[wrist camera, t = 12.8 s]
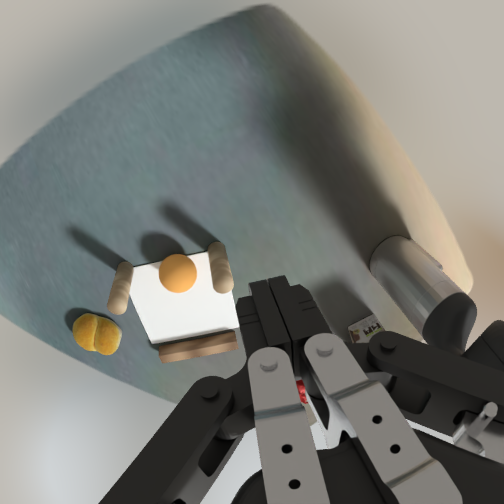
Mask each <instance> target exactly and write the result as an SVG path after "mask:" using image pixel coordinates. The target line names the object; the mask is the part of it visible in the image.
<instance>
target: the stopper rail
mask: <svg viewBox="0 0 504 504" xmlns="http://www.w3.org/2000/svg"><path fill="white" fill-rule="evenodd" d="M235 349H239V348H238V344H237V339H236V335H235V331H234V332H229V333H224V334H220V335H215V336H210V337H205V338H200V339H195V340H190V341H184V342H179V343H173V344H168V345H162V346H159V358H160V360H161V362H162V363H167V362H173V361H179V360H184V359H190V358H195V357H200V356H206V355H211V354H216V353H221V352H226V351H230V350H235Z"/></svg>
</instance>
